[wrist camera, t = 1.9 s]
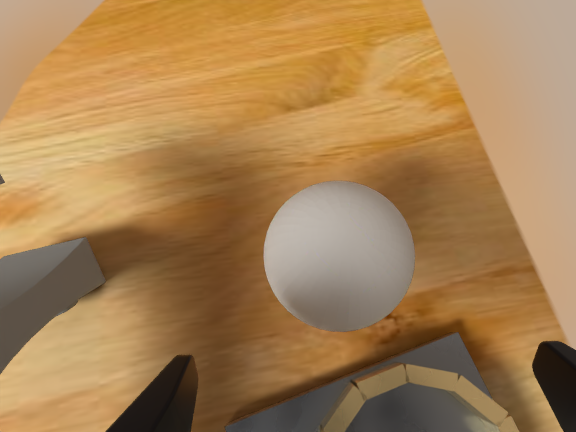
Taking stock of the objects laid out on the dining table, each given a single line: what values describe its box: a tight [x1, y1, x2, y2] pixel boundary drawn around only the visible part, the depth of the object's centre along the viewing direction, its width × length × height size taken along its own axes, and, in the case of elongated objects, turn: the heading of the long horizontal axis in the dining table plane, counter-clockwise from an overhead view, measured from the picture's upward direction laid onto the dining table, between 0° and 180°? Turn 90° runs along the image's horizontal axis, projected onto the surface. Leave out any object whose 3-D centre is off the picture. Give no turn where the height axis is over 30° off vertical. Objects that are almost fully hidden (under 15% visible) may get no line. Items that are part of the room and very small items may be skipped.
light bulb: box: [264, 181, 415, 332], centre depth 16 cm, size 6×6×10 cm
